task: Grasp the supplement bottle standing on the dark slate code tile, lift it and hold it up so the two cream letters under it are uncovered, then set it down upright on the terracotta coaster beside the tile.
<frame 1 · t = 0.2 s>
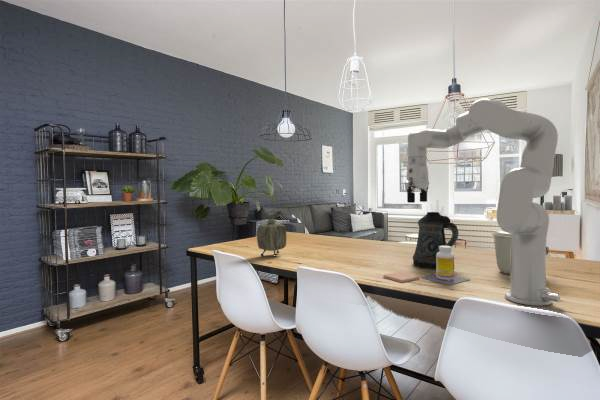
hand: (417, 202, 149), 31 cm above the table, fingers open, 9 cm apart
beer stein: (434, 265, 164), on the table
code tile: (445, 278, 140), on the table
coaster pad: (401, 278, 143), on the table
tabletop clock: (272, 256, 194), on the table
supplement bottle: (445, 278, 140), resting on code tile
canister: (516, 273, 148), on the table
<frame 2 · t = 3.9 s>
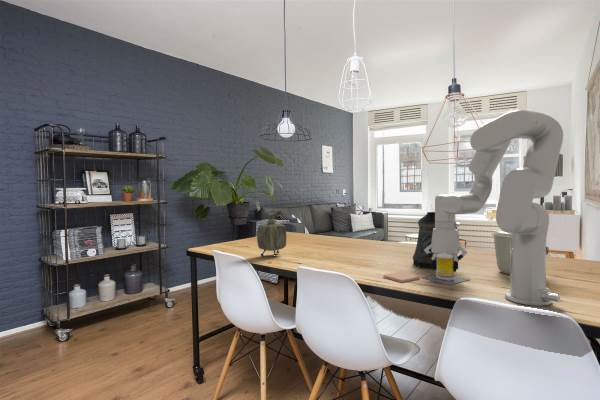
hand: (445, 269, 140), 4 cm above the table, fingers closed on supplement bottle, 6 cm apart
supplement bottle: (445, 278, 140), resting on code tile, touching gripper
everything else where it was.
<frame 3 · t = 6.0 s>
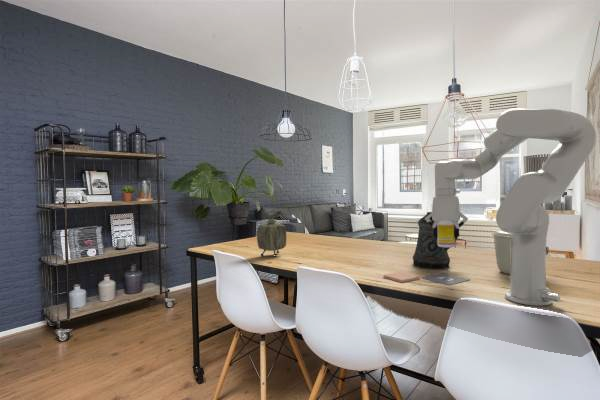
hand: (446, 237, 139), 17 cm above the table, fingers closed on supplement bottle, 6 cm apart
supplement bottle: (446, 247, 139), point 13 cm above the table, touching gripper
everything else where it was.
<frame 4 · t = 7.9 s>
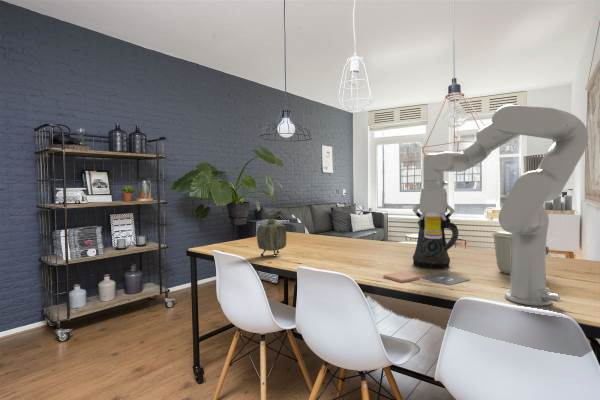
hand: (433, 229, 140), 20 cm above the table, fingers closed on supplement bottle, 6 cm apart
supplement bottle: (433, 238, 140), point 16 cm above the table, touching gripper
everything else where it was.
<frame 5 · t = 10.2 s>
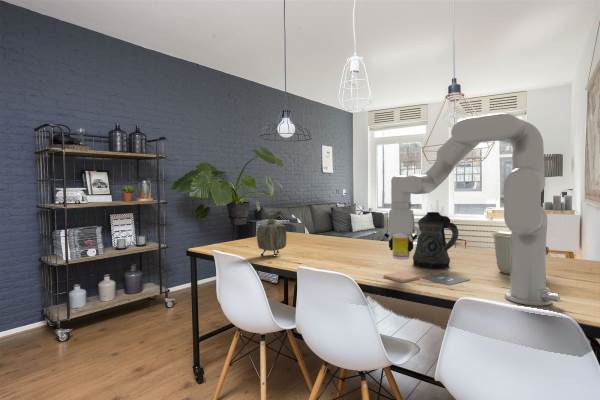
hand: (400, 249, 142), 11 cm above the table, fingers closed on supplement bottle, 6 cm apart
supplement bottle: (400, 258, 142), point 8 cm above the table, touching gripper
everything else where it was.
when the fingers open (6 cm above the table, at t = 12.2 s): supplement bottle drops 1 cm, resting on coaster pad.
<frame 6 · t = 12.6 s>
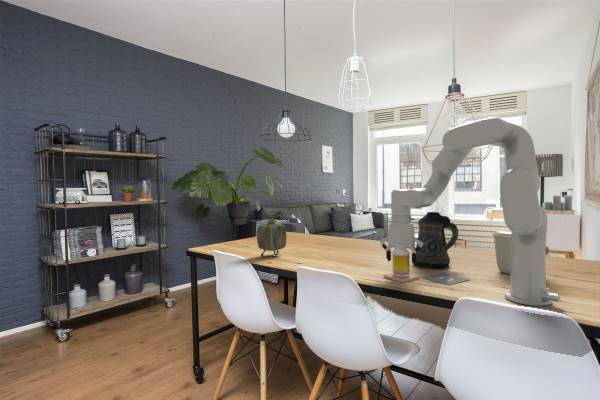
hand: (401, 261, 142), 7 cm above the table, fingers open, 9 cm apart
supplement bottle: (401, 275, 143), point 1 cm above the table, touching coaster pad
everything else where it was.
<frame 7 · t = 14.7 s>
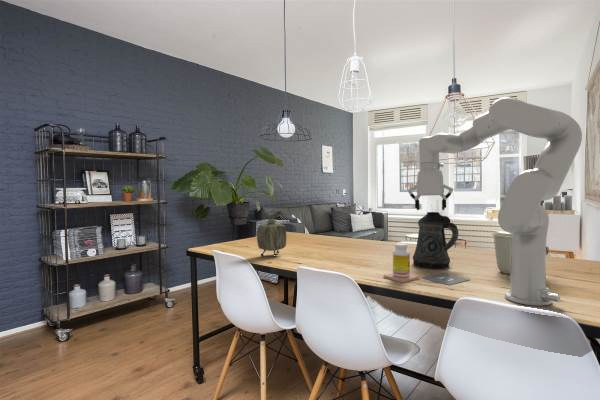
hand: (430, 209, 142), 28 cm above the table, fingers open, 9 cm apart
nothing on the table moved.
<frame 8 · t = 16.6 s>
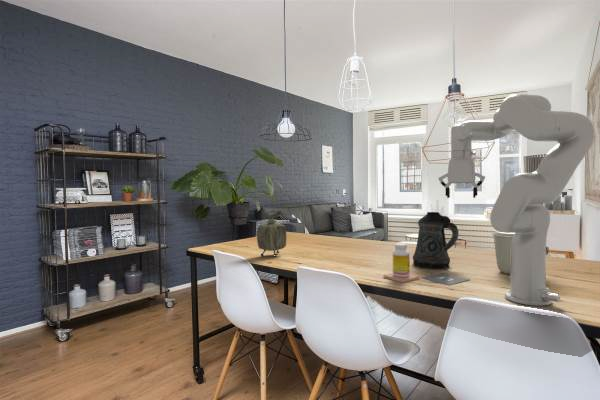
hand: (461, 197, 143), 32 cm above the table, fingers open, 9 cm apart
nothing on the table moved.
at the end: supplement bottle 0.0 cm off-centre on the coaster pad, point 0.8 cm above the coaster pad's base; supplement bottle tilted 0°; the gripper is holding nothing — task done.
